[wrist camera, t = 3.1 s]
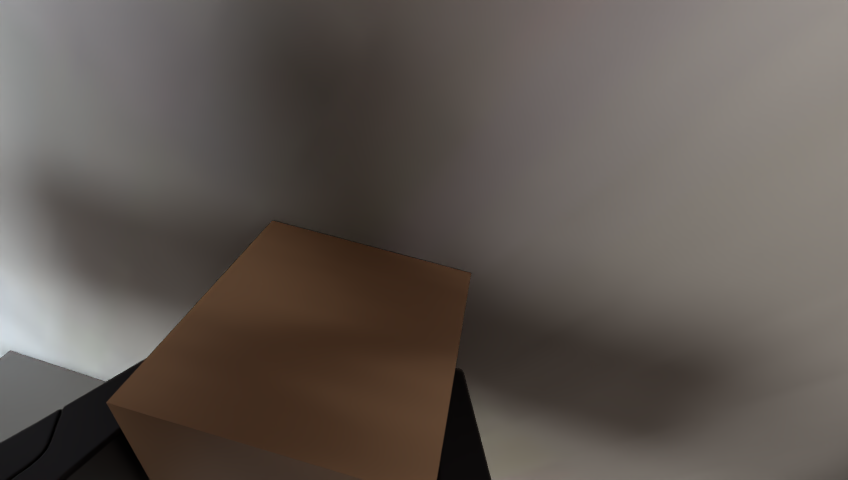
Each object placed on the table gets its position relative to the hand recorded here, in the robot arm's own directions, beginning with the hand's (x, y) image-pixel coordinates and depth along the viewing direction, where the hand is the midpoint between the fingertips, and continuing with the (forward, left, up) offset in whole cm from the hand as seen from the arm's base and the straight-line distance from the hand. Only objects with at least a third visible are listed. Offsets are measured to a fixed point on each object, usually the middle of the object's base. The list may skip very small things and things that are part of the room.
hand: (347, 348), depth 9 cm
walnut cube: (0, 0, -1) cm, 1 cm away
